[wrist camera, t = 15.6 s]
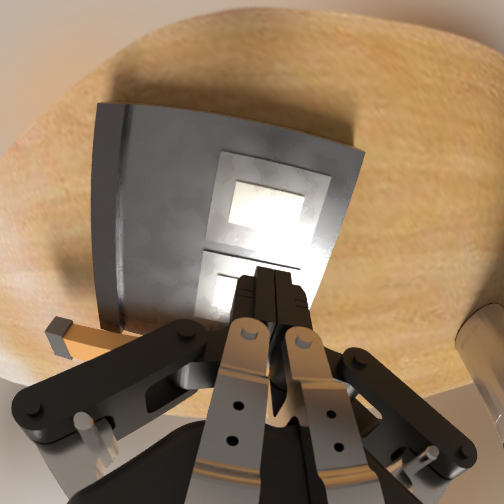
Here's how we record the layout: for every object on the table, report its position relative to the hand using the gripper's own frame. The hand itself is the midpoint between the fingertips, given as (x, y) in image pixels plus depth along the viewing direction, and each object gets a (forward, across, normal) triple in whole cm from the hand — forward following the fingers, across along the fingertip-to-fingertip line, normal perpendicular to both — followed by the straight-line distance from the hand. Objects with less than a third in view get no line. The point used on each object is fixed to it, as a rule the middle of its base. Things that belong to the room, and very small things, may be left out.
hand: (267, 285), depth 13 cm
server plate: (+13, +4, +5) cm, 14 cm away
